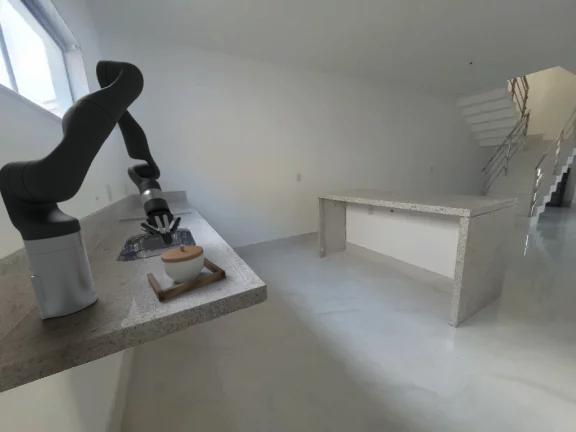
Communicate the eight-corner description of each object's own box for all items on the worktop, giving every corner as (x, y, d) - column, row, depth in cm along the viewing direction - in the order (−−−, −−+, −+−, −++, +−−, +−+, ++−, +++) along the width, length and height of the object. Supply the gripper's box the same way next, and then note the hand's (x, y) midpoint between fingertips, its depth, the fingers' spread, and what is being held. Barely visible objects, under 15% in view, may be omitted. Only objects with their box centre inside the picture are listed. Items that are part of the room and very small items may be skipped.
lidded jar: (212, 269, 71) (208, 239, 69) (196, 286, 61) (191, 251, 59) (178, 270, 72) (173, 241, 70) (156, 287, 61) (150, 253, 60)
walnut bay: (159, 301, 54) (157, 293, 54) (148, 280, 66) (146, 273, 66) (226, 277, 64) (225, 271, 64) (205, 263, 76) (205, 257, 76)
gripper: (132, 199, 77) (145, 242, 70) (175, 195, 85) (191, 233, 78) (134, 214, 83) (145, 255, 75) (174, 208, 91) (188, 245, 83)
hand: (168, 244), depth 77 cm, fingers closed
